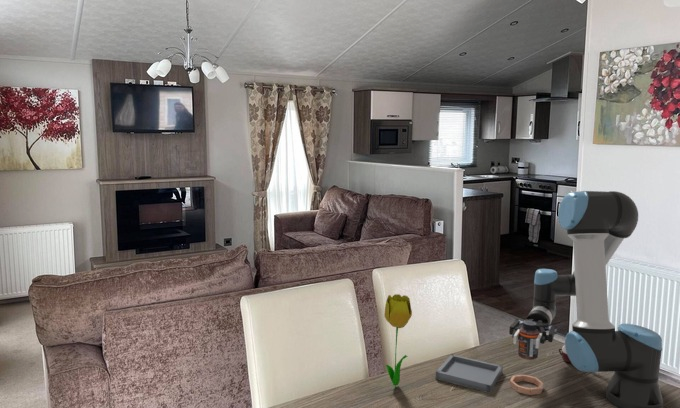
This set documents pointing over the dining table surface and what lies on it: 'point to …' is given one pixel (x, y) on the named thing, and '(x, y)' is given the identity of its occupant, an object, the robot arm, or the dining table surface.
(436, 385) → the dining table surface
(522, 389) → the holder ring
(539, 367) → the dining table surface
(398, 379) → the flower
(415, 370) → the dining table surface
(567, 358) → the cocoa
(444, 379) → the tray
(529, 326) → the supplement bottle
